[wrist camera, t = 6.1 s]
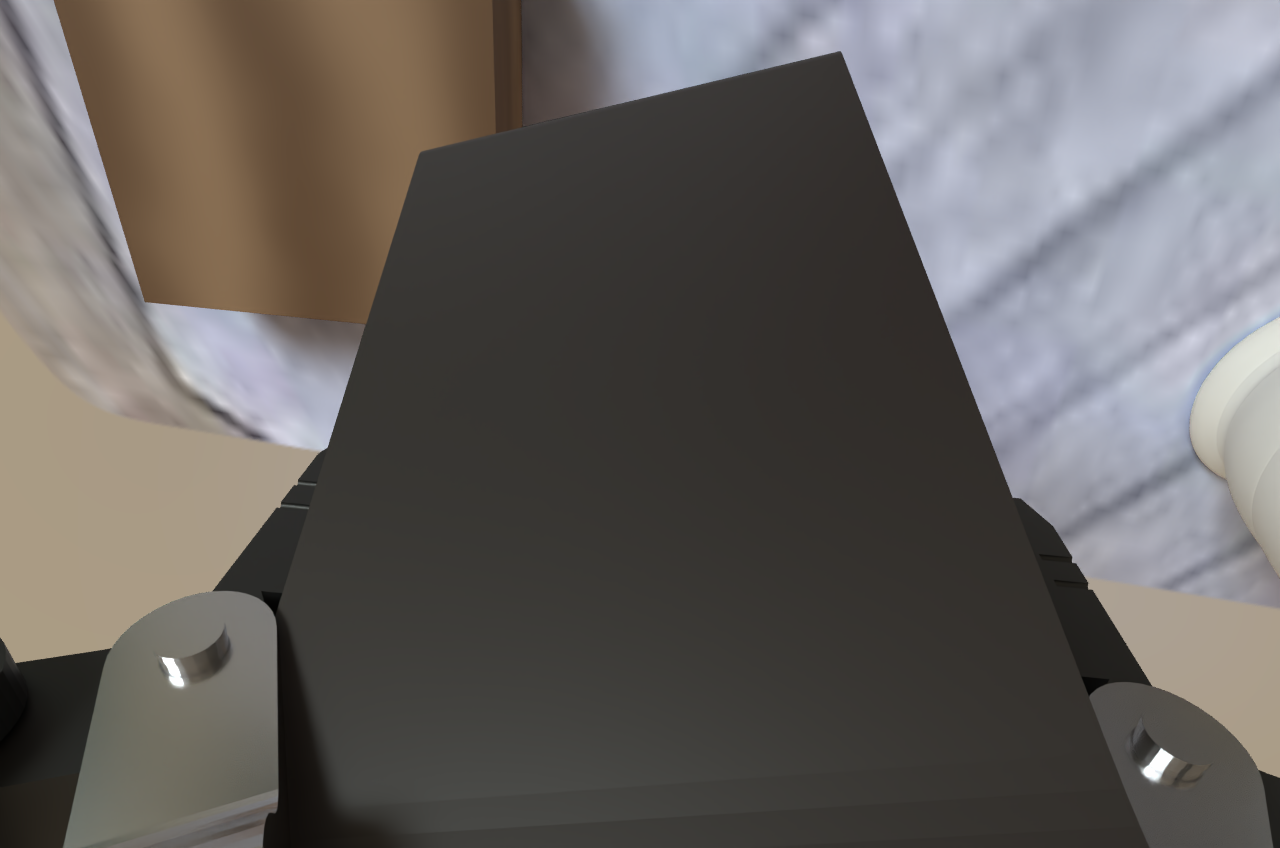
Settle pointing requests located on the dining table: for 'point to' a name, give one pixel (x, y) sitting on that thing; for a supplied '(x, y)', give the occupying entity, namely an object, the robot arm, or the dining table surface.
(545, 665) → the phone stand
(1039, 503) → the dining table surface
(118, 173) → the walnut plinth
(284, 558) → the robot arm
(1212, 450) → the jar
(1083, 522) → the dining table surface
